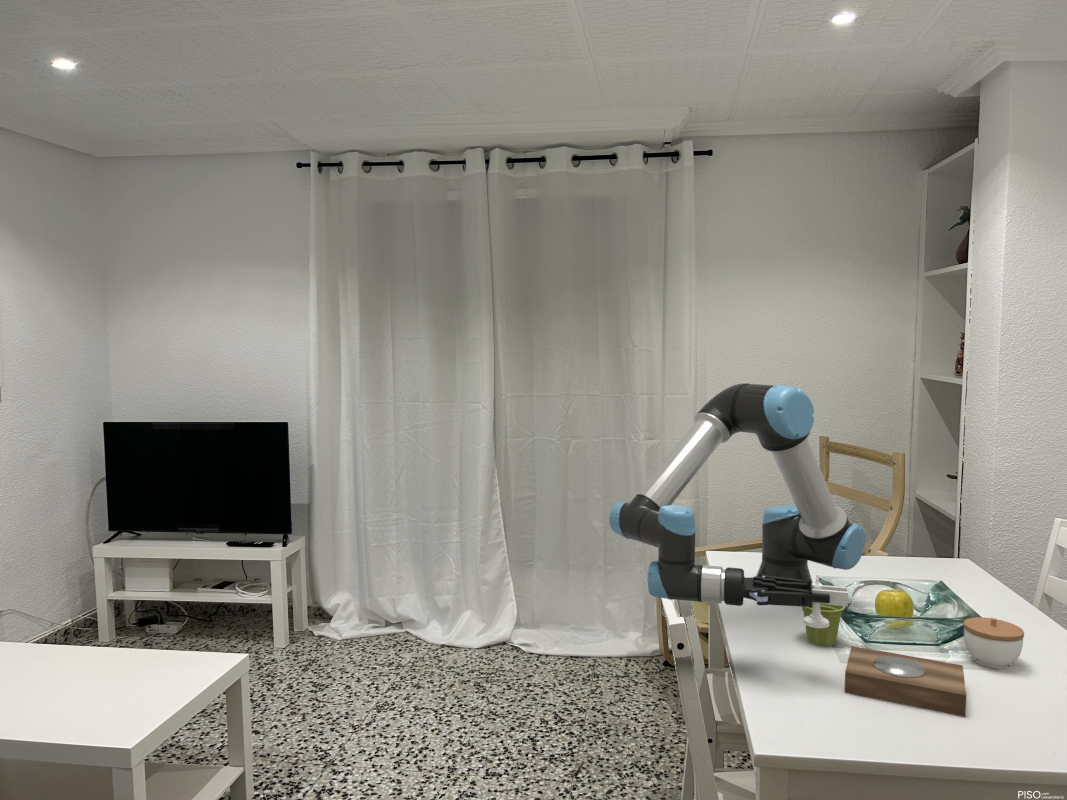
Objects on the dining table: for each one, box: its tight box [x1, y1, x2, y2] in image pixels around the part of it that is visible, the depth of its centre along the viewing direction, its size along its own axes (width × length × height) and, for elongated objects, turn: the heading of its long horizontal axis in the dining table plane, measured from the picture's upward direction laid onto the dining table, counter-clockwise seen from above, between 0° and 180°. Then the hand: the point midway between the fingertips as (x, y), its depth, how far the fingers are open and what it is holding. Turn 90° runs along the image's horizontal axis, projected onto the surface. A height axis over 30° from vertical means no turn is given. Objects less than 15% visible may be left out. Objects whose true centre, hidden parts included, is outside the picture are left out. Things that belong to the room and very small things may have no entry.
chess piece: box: [802, 573, 829, 628], centre depth 148 cm, size 5×5×10 cm
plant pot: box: [801, 603, 846, 647], centre depth 166 cm, size 9×9×9 cm
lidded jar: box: [963, 616, 1025, 670], centre depth 155 cm, size 11×11×9 cm
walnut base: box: [844, 645, 967, 718], centre depth 143 cm, size 14×20×4 cm
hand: (846, 596), depth 146 cm, fingers closed on chess piece, 2 cm apart
